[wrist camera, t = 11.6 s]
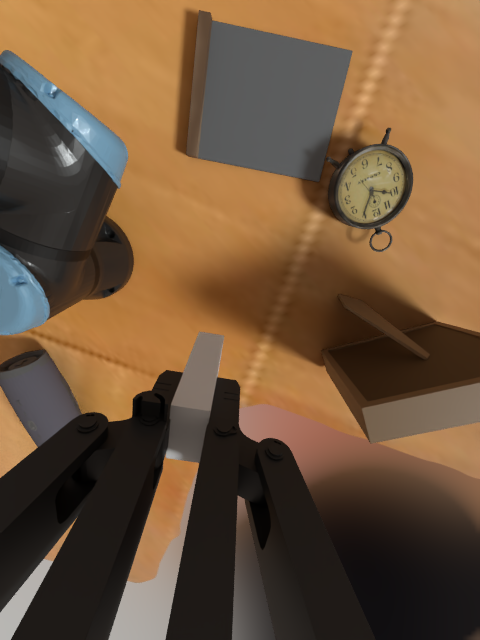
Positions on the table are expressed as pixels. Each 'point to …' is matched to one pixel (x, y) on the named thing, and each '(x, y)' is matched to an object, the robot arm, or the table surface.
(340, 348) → the photo frame
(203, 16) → the stop strip
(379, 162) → the alarm clock
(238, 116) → the mat
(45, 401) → the bluetooth speaker
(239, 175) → the table surface
